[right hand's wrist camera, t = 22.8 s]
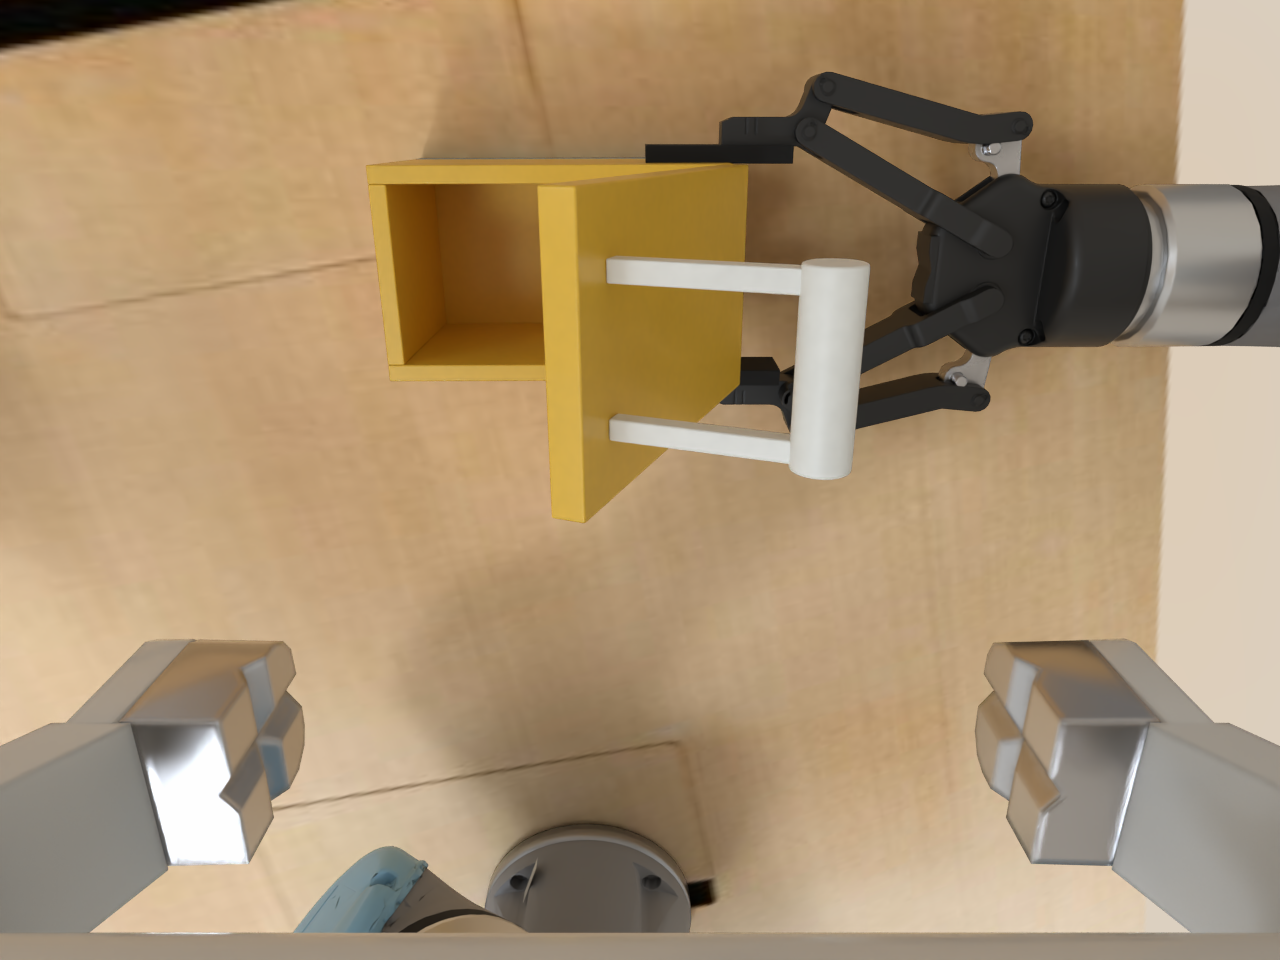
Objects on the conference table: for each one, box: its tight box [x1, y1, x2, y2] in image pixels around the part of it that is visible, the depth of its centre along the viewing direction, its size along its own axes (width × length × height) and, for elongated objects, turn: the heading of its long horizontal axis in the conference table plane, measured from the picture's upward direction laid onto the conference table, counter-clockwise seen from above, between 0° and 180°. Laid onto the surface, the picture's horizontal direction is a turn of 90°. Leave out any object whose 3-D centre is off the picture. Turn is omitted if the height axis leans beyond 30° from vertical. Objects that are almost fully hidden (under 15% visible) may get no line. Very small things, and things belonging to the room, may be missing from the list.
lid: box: [537, 164, 870, 523], centre depth 30 cm, size 16×9×8 cm
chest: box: [366, 158, 732, 381], centre depth 44 cm, size 16×10×10 cm, turn 90°
